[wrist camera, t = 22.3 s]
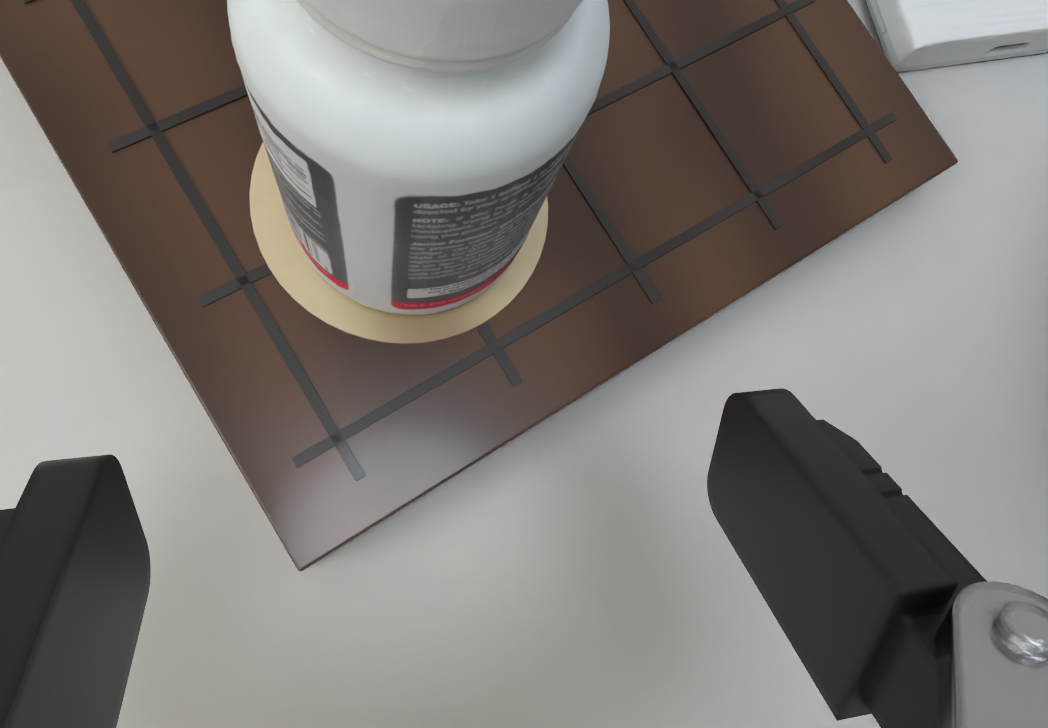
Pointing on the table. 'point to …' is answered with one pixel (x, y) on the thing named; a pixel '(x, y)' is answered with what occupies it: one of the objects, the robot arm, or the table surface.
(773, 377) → the table surface
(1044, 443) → the table surface
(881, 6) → the hard drive
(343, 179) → the pill bottle
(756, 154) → the board
